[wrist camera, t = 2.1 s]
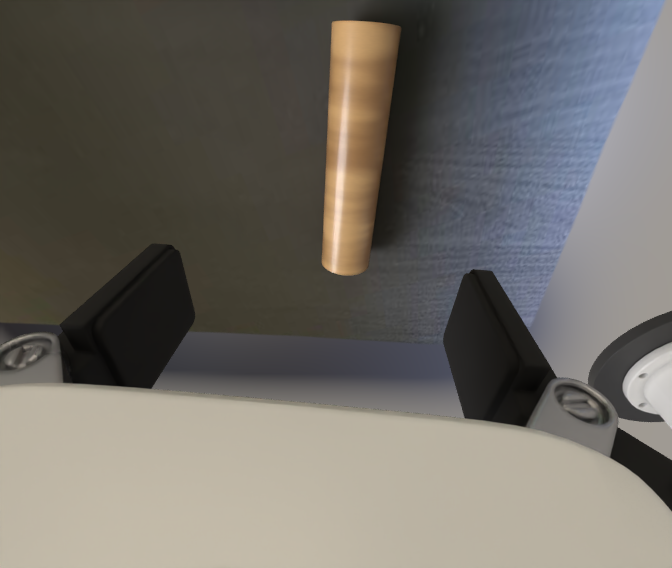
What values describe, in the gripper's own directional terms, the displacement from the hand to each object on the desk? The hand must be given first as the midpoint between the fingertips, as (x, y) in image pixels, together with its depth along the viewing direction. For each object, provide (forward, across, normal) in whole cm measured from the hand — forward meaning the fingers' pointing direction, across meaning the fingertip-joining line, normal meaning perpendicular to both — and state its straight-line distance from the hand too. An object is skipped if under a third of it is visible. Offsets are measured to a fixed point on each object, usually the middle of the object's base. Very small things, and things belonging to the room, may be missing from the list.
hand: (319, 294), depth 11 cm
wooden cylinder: (+17, -2, 0) cm, 17 cm away
